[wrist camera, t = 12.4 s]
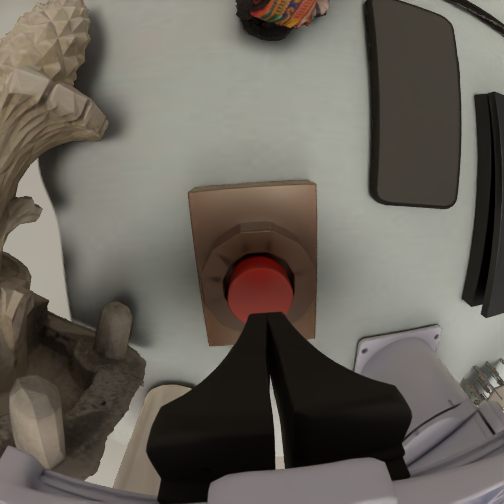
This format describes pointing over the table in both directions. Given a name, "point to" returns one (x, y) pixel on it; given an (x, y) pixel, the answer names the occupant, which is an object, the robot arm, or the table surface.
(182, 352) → the table surface
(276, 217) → the switch block
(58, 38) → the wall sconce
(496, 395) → the building frame
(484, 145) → the laptop
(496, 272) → the laptop screen
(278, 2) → the figurine
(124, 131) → the table surface
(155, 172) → the table surface
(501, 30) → the black pen
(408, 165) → the smartphone
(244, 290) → the button
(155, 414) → the cup
